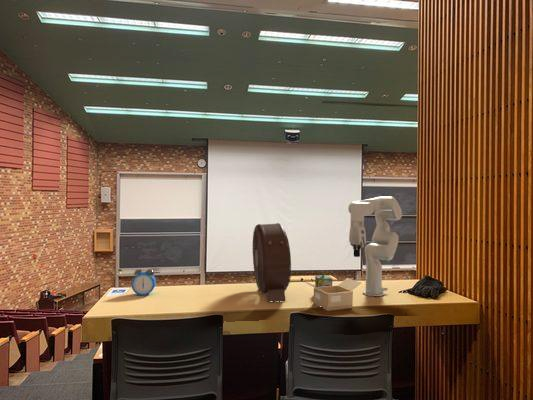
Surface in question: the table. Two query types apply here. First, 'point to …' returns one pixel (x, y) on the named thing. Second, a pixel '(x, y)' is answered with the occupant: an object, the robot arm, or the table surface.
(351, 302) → the carton
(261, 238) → the fan
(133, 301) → the table surface
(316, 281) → the chalk box
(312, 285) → the flap
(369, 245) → the robot arm
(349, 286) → the flap
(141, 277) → the alarm clock
